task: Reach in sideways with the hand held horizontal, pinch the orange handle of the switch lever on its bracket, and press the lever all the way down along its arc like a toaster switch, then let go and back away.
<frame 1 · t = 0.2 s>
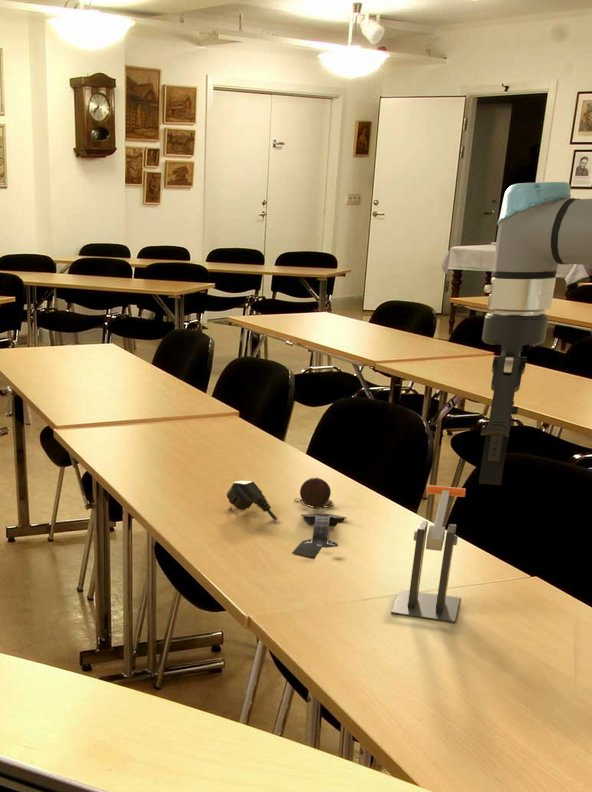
hand: (492, 471, 126), 24 cm above the table, tool pointing down, fingers open, 13 cm apart
lever: (440, 515, 139), point 14 cm above the table, hinge at 25.0°
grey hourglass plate: (320, 537, 173), on the table
power plug: (252, 515, 188), on the table
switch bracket: (425, 611, 140), on the table
dark brown round piece: (311, 507, 192), on the table
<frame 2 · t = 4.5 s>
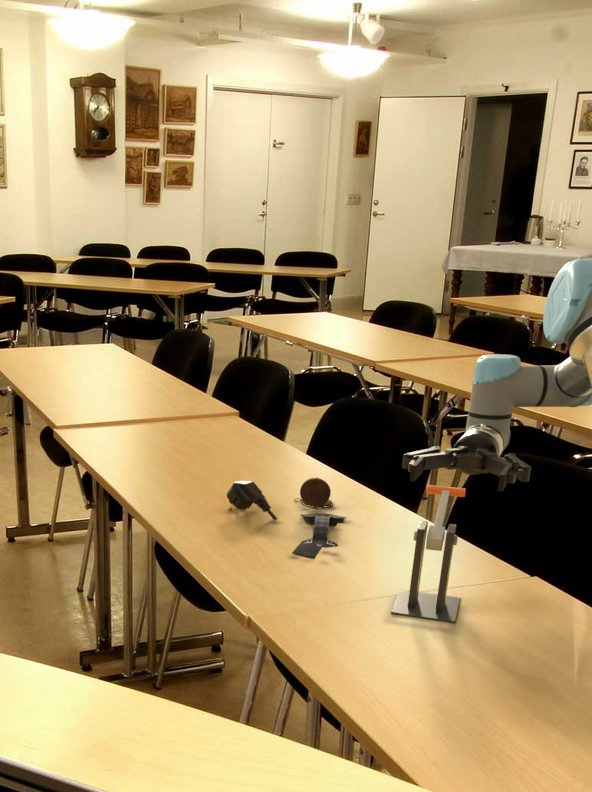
hand: (456, 478, 149), 17 cm above the table, tool horizontal, fingers open, 13 cm apart
nothing on the table moved.
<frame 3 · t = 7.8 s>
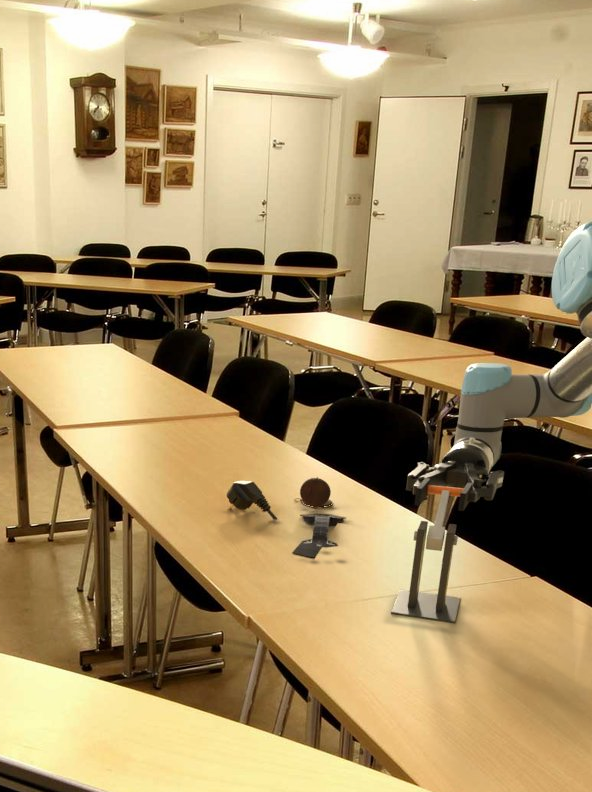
hand: (439, 499, 138), 17 cm above the table, tool horizontal, fingers closed on lever, 6 cm apart
lever: (440, 515, 139), point 14 cm above the table, hinge at 25.0°, touching gripper
everything else where it was.
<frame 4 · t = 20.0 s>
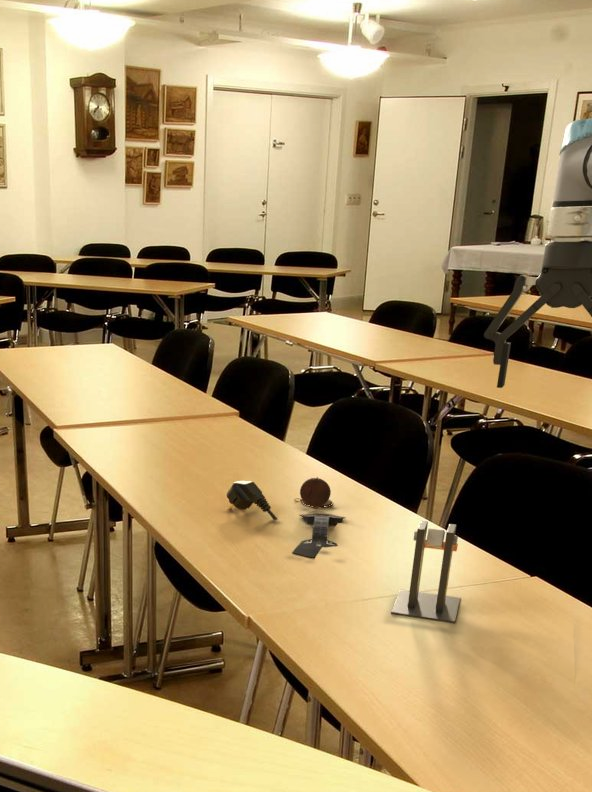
hand: (549, 389, 138), 32 cm above the table, tool pointing down, fingers open, 13 cm apart
lever: (437, 541, 140), point 10 cm above the table, hinge at -23.4°
everything else where it was.
at the end: lever at -23° (first picture: +25°); the gripper is holding nothing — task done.
